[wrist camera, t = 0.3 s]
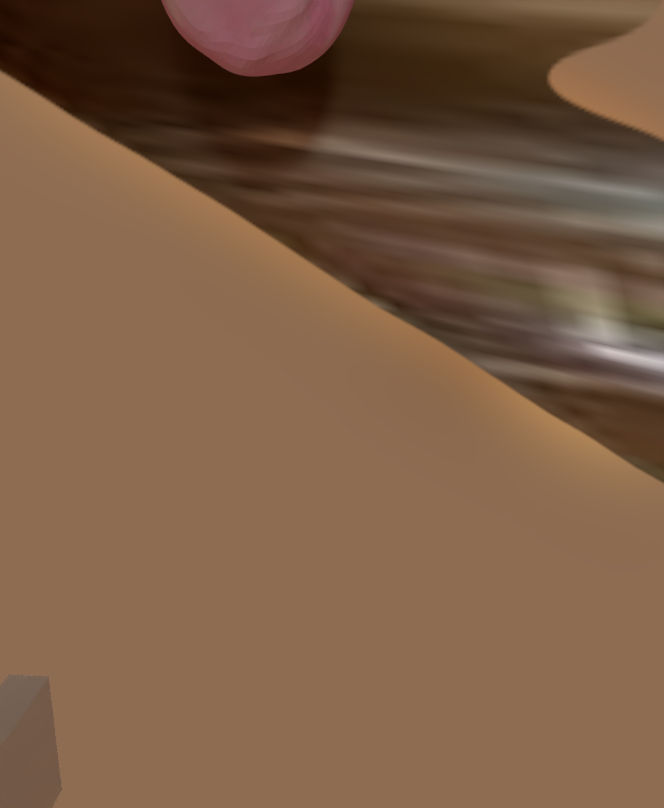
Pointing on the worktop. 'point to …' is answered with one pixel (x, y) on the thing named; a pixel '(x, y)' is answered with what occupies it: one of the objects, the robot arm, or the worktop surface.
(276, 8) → the cupcake
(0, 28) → the worktop surface
